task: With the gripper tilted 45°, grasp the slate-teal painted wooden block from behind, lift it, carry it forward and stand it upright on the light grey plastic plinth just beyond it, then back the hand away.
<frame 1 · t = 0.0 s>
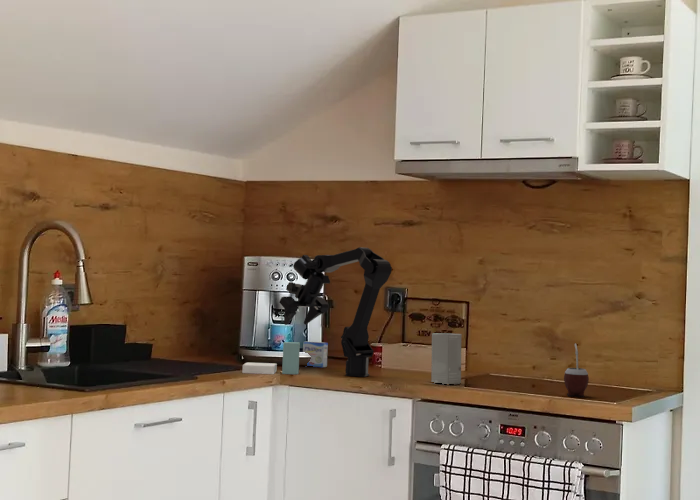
hand: (295, 324, 342), 15 cm above the countertop, tool tilted 35°, fingers open, 9 cm apart
teal block: (290, 373, 319), on the countertop
skincare box: (445, 384, 306), on the countertop
mate gourd: (575, 396, 286), on the countertop
medicine box: (314, 367, 346), on the countertop
grey plinth: (259, 372, 320), on the countertop
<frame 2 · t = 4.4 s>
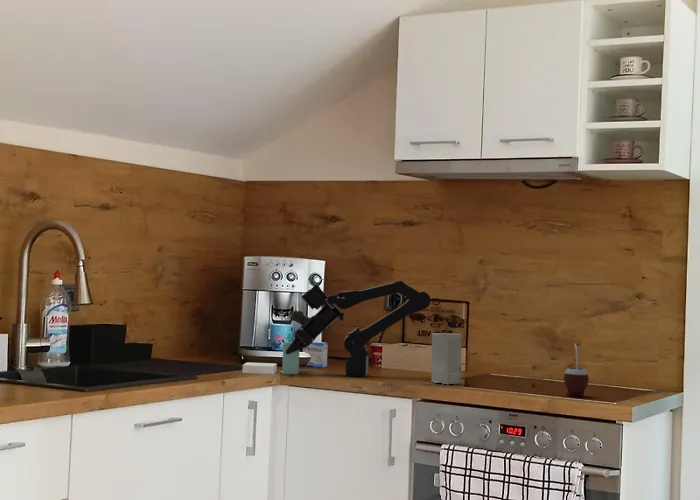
hand: (286, 352, 320), 7 cm above the countertop, tool tilted 45°, fingers closed on teal block, 4 cm apart
teal block: (290, 373, 319), on the countertop, touching gripper
everything else where it was.
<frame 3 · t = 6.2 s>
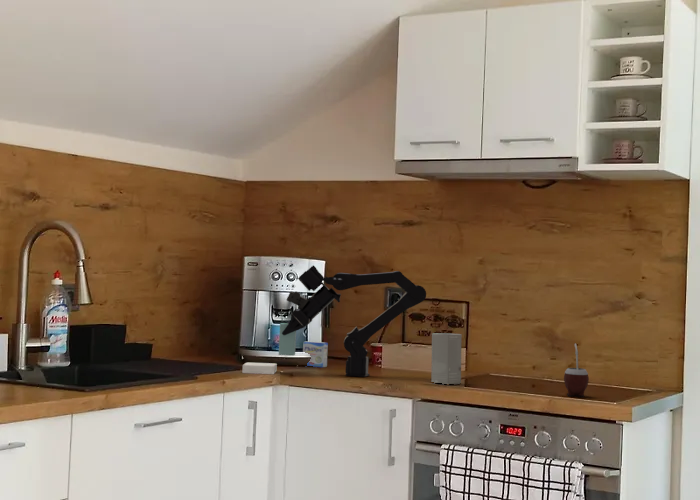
hand: (283, 334, 320), 13 cm above the countertop, tool tilted 45°, fingers closed on teal block, 4 cm apart
teal block: (286, 354, 320), point 6 cm above the countertop, touching gripper
everything else where it was.
when the fingers open (11 cm above the countertop, at t = 7.8 s): teal block drops 2 cm, resting on grey plinth.
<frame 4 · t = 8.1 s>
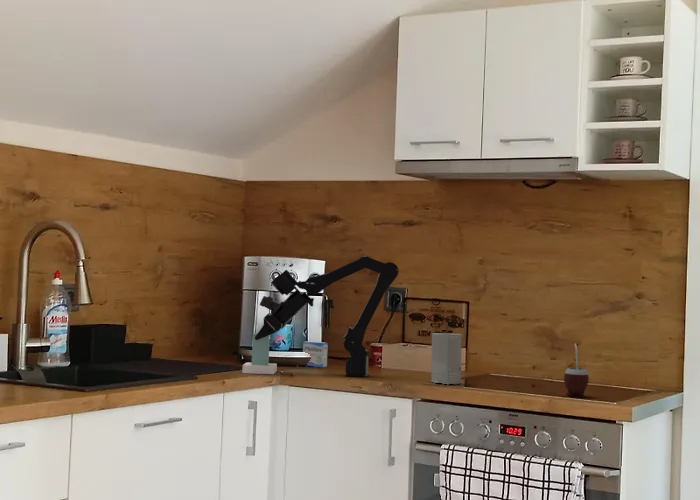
hand: (256, 338, 320), 11 cm above the countertop, tool tilted 45°, fingers open, 7 cm apart
teal block: (260, 364, 320), point 2 cm above the countertop, touching grey plinth
everything else where it was.
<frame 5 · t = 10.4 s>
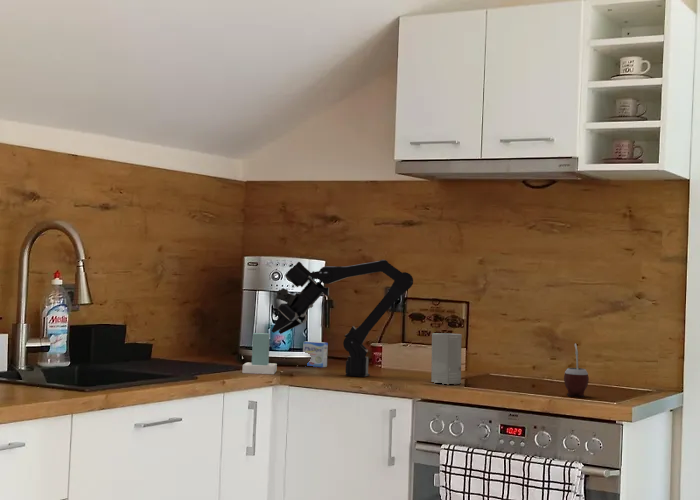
hand: (276, 332, 321), 13 cm above the countertop, tool tilted 40°, fingers open, 9 cm apart
nothing on the countertop moved.
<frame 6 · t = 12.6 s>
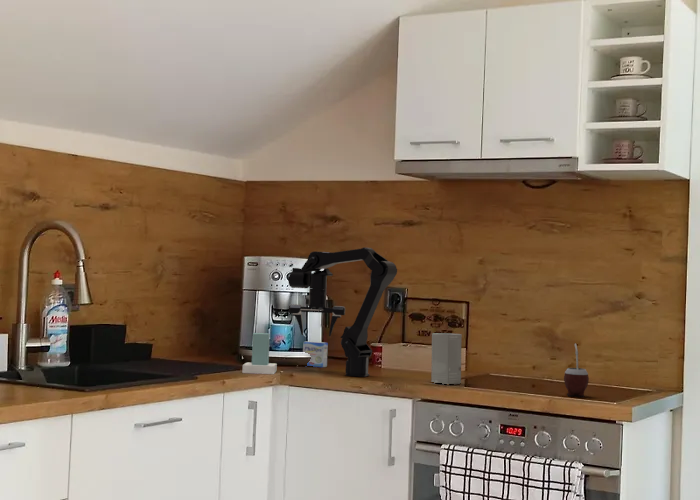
hand: (316, 335, 328), 12 cm above the countertop, tool pointing down, fingers open, 9 cm apart
nothing on the countertop moved.
at the end: teal block 0.0 cm off-centre on the grey plinth, point 2.5 cm above the grey plinth's base; teal block tilted 0°; the gripper is holding nothing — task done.
